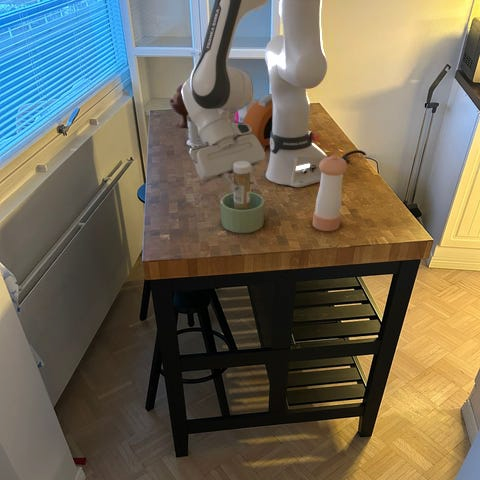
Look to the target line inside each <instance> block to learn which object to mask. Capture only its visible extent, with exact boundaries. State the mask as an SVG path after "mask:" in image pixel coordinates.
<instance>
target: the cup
mask: <svg viewBox="0 0 480 480" xmlns="http://www.w3.org/2000/svg"><path fill="white" fill-rule="evenodd" d="M220 214H221V215H220V217H221V218H220V219H221V225H222V227H223V228H224V229H225V230H227V231H229V232H232V233H237V234H247V233H253V232H256V231H259V230H260V229H262V227H263V226H264V222H265V198H264V197H263V196H262V195H261V194H259V193H257V192H253V191H250V209H249V210H236V209H234V191H231V192H230V193H227V194H225V195H223V196H222V197H221V199H220Z"/></svg>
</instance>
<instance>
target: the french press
mask: <svg viewBox="0 0 480 480" xmlns="http://www.w3.org/2000/svg"><path fill="white" fill-rule="evenodd" d="M187 121H188V127H187V133H188V140H186V145H187V146H189V147H191V148H192V147H193V146H195V145H199V144H202V143H203V142H202V140H201V138H200V136H199V133H198V129H197V127H196V125H195V124H194V123H193V122H192V120H191V118H190V116H189V114H188V115H187Z"/></svg>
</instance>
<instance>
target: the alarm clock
mask: <svg viewBox="0 0 480 480" xmlns="http://www.w3.org/2000/svg"><path fill="white" fill-rule="evenodd" d="M272 120H273V101H272V93H269V94H267V95H264V96H263V97H261V98H259V99H257V100H256V101H254V104H253V105H252V106H251V108H250V109H249V110H248V112H247V114H246V116H245V118H244V121H243V124H248V125H250V126H251V128H252V132H251V133H250V134H253V135H255V136H256V137H257V139H258V140H259V142H260V144H261V146H262V148H263V150H264V151H265V149H266V147H267V146H270V137H271V130H272Z"/></svg>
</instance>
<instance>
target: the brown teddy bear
mask: <svg viewBox="0 0 480 480" xmlns="http://www.w3.org/2000/svg"><path fill="white" fill-rule="evenodd" d="M184 84H185V83H183V84H180V85H178V87H177V88H176V91H175V93H174V95H173V97H172V98H171V99H169V106H170V108H171V109H172V110H173V112H175V113H176V114H178V115H179V116H181V117H182V121H181V122H179V123H178V127H179V128H188V115H189V114H188V111H187V109H186V107H185V104H184V101H183V98H182V88H183V85H184Z"/></svg>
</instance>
